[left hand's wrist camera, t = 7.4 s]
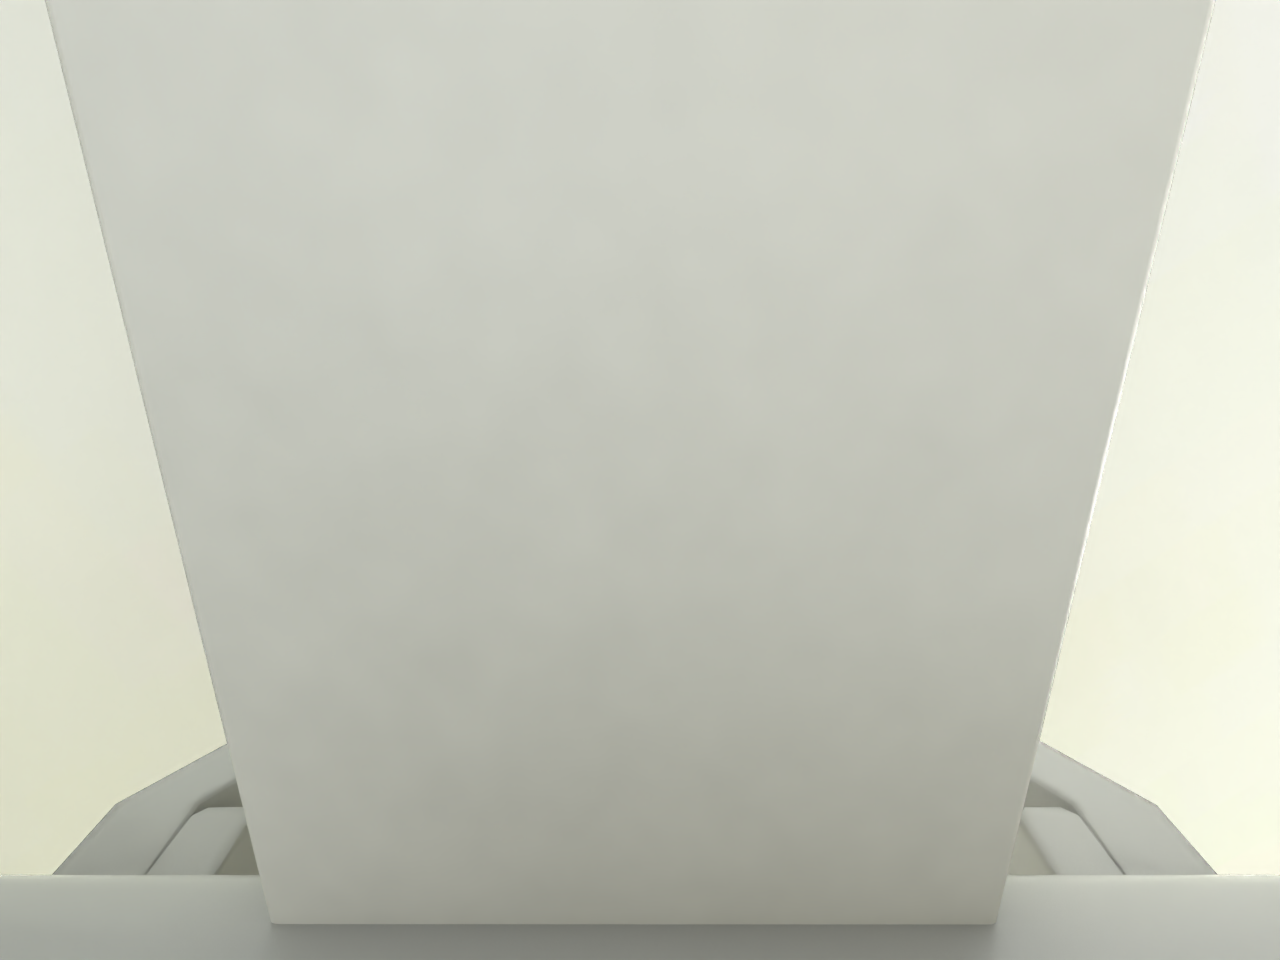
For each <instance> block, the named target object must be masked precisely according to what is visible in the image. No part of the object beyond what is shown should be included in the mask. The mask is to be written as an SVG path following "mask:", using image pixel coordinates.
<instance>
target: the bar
mask: <svg viewBox="0 0 1280 960" xmlns="http://www.w3.org/2000/svg"><path fill="white" fill-rule="evenodd" d="M1215 1H1216V0H45V2H46V6H47V10H48V14H49V18H50V22H51V26H52V30H53V34H54V39H55V43H56V47H57V51H58V55H59V59H60V63H61V67H62V71H63V75H64V79H65V83H66V88H67V92H68V96H69V100H70V104H71V108H72V112H73V116H74V120H75V124H76V128H77V132H78V137H79V141H80V145H81V149H82V153H83V157H84V161H85V165H86V169H87V173H88V177H89V181H90V185H91V190H92V194H93V198H94V202H95V206H96V210H97V214H98V218H99V222H100V226H101V230H102V234H103V239H104V243H105V247H106V251H107V255H108V259H109V263H110V267H111V271H112V275H113V279H114V283H115V287H116V292H117V296H118V300H119V304H120V308H121V312H122V316H123V320H124V324H125V328H126V332H127V336H128V341H129V345H130V349H131V353H132V357H133V361H134V365H135V369H136V373H137V377H138V381H139V385H140V390H141V394H142V398H143V402H144V406H145V410H146V414H147V418H148V422H149V426H150V430H151V434H152V438H153V443H154V447H155V451H156V455H157V459H158V463H159V467H160V471H161V475H162V479H163V483H164V487H165V492H166V496H167V500H168V504H169V508H170V512H171V516H172V520H173V524H174V528H175V532H176V536H177V541H178V545H179V549H180V553H181V557H182V561H183V565H184V569H185V573H186V577H187V581H188V585H189V589H190V594H191V598H192V602H193V606H194V610H195V614H196V618H197V622H198V626H199V630H200V634H201V638H202V643H203V647H204V651H205V655H206V659H207V663H208V667H209V671H210V675H211V679H212V683H213V687H214V691H215V696H216V700H217V704H218V708H219V712H220V716H221V720H222V724H223V728H224V732H225V736H226V740H227V745H228V749H229V753H230V757H231V761H232V765H233V769H234V773H235V777H236V781H237V785H238V789H239V794H240V798H241V802H242V806H243V810H244V814H245V818H246V822H247V826H248V830H249V834H250V838H251V842H252V847H253V851H254V855H255V859H256V863H257V867H258V871H259V875H260V879H261V883H262V887H263V891H264V896H265V900H266V904H267V908H268V912H269V916H270V920H271V922H272V923H274V924H913V925H991V924H994V923H996V920H997V916H998V912H999V907H1000V903H1001V899H1002V895H1003V891H1004V887H1005V882H1006V878H1007V874H1008V870H1009V866H1010V861H1011V857H1012V853H1013V849H1014V845H1015V840H1016V836H1017V832H1018V828H1019V824H1020V819H1021V815H1022V811H1023V807H1024V803H1025V798H1026V794H1027V790H1028V786H1029V782H1030V777H1031V773H1032V769H1033V765H1034V761H1035V756H1036V752H1037V748H1038V744H1039V740H1040V735H1041V731H1042V727H1043V723H1044V719H1045V715H1046V710H1047V706H1048V702H1049V698H1050V694H1051V689H1052V685H1053V681H1054V677H1055V673H1056V668H1057V664H1058V660H1059V656H1060V652H1061V647H1062V643H1063V639H1064V635H1065V631H1066V626H1067V622H1068V618H1069V614H1070V610H1071V605H1072V601H1073V597H1074V593H1075V589H1076V584H1077V580H1078V576H1079V572H1080V568H1081V563H1082V559H1083V555H1084V551H1085V547H1086V543H1087V538H1088V534H1089V530H1090V526H1091V522H1092V517H1093V513H1094V509H1095V505H1096V501H1097V496H1098V492H1099V488H1100V484H1101V480H1102V475H1103V471H1104V467H1105V463H1106V459H1107V454H1108V450H1109V446H1110V442H1111V438H1112V433H1113V429H1114V425H1115V421H1116V417H1117V412H1118V408H1119V404H1120V400H1121V396H1122V392H1123V387H1124V383H1125V379H1126V375H1127V371H1128V366H1129V362H1130V358H1131V354H1132V350H1133V345H1134V341H1135V337H1136V333H1137V329H1138V324H1139V320H1140V316H1141V312H1142V308H1143V303H1144V299H1145V295H1146V291H1147V287H1148V282H1149V278H1150V274H1151V270H1152V266H1153V261H1154V257H1155V253H1156V249H1157V245H1158V240H1159V236H1160V232H1161V228H1162V224H1163V220H1164V215H1165V211H1166V207H1167V203H1168V199H1169V194H1170V190H1171V186H1172V182H1173V178H1174V173H1175V169H1176V165H1177V161H1178V157H1179V152H1180V148H1181V144H1182V140H1183V136H1184V131H1185V127H1186V123H1187V119H1188V115H1189V110H1190V106H1191V102H1192V98H1193V94H1194V89H1195V85H1196V81H1197V77H1198V73H1199V69H1200V64H1201V60H1202V56H1203V52H1204V48H1205V43H1206V39H1207V35H1208V31H1209V27H1210V22H1211V18H1212V14H1213V10H1214V6H1215Z"/></svg>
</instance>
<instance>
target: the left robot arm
mask: <svg viewBox="0 0 1280 960" xmlns="http://www.w3.org/2000/svg"><path fill="white" fill-rule="evenodd" d="M0 960H1280V875H1217V873H1216V872H1215V871H1214V870H1213V869H1212V868H1211V867H1210V865H1209V864H1208V863H1207V862H1206V861H1205V860H1204V859H1203V857H1202V856H1201V855H1200V854H1199V853H1198V852H1197V851H1196V849H1195V848H1194V847H1193V846H1192V845H1191V844H1190V843H1189V842H1188V840H1187V839H1186V838H1185V837H1184V836H1183V835H1182V834H1181V832H1180V831H1179V830H1178V829H1177V828H1176V827H1175V826H1174V824H1173V823H1172V822H1171V821H1170V820H1169V819H1168V818H1167V816H1166V815H1165V814H1164V813H1163V812H1162V811H1161V810H1160V809H1159V807H1158V806H1157V805H1155V804H1154V803H1152V802H1150V801H1148V800H1146V799H1144V798H1143V797H1141V796H1139V795H1137V794H1135V793H1134V792H1132V791H1130V790H1128V789H1126V788H1124V787H1123V786H1121V785H1119V784H1117V783H1115V782H1114V781H1112V780H1110V779H1108V778H1106V777H1104V776H1103V775H1101V774H1099V773H1097V772H1095V771H1094V770H1092V769H1090V768H1088V767H1086V766H1084V765H1083V764H1081V763H1079V762H1077V761H1075V760H1074V759H1072V758H1070V757H1068V756H1066V755H1064V754H1063V753H1061V752H1059V751H1057V750H1055V749H1054V748H1052V747H1050V746H1048V745H1046V744H1044V743H1043V742H1041V741H1039V744H1038V748H1037V752H1036V756H1035V761H1034V765H1033V769H1032V773H1031V777H1030V782H1029V786H1028V790H1027V794H1026V798H1025V803H1024V807H1023V811H1022V815H1021V819H1020V824H1019V828H1018V832H1017V836H1016V840H1015V845H1014V849H1013V853H1012V857H1011V861H1010V866H1009V870H1008V874H1007V878H1006V882H1005V887H1004V891H1003V895H1002V899H1001V903H1000V907H999V912H998V916H997V920H996V923H994V924H991V925H913V924H274V923H272V922H271V920H270V916H269V912H268V908H267V904H266V900H265V896H264V891H263V887H262V883H261V879H260V875H259V871H258V867H257V863H256V859H255V855H254V851H253V847H252V842H251V838H250V834H249V830H248V826H247V822H246V818H245V814H244V810H243V806H242V802H241V798H240V794H239V789H238V785H237V781H236V777H235V773H234V769H233V765H232V761H231V757H230V753H229V749H228V745H227V744H225V745H224V746H222V747H220V748H218V749H216V750H214V751H213V752H211V753H209V754H207V755H205V756H203V757H201V758H200V759H198V760H196V761H194V762H192V763H190V764H189V765H187V766H185V767H183V768H181V769H179V770H178V771H176V772H174V773H172V774H170V775H168V776H166V777H165V778H163V779H161V780H159V781H157V782H155V783H154V784H152V785H150V786H148V787H146V788H144V789H143V790H141V791H139V792H137V793H135V794H133V795H132V796H130V797H128V798H126V799H124V800H122V801H120V802H119V803H117V804H115V805H114V807H113V808H112V809H111V810H110V811H109V812H108V813H107V814H106V815H105V817H104V818H103V819H102V820H101V821H100V822H99V823H98V824H97V825H96V827H95V828H94V829H93V830H92V831H91V832H90V833H89V834H88V835H87V837H86V838H85V839H84V840H83V841H82V842H81V843H80V844H79V845H78V847H77V848H76V849H75V850H74V851H73V852H72V853H71V854H70V855H69V857H68V858H67V859H66V860H65V861H64V862H63V863H62V864H61V865H60V867H59V868H58V869H57V870H56V871H55V872H54V873H53V874H52V875H0Z"/></svg>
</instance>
